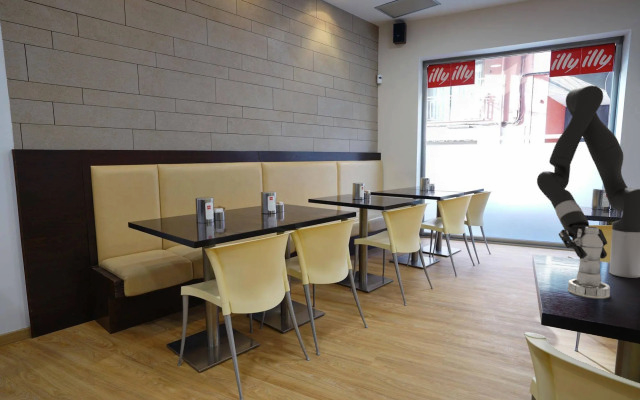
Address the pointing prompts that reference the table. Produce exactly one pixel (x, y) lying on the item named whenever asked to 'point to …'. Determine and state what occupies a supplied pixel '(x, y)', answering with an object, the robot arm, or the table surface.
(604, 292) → the ring holder
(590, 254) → the plastic bottle
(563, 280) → the table surface
